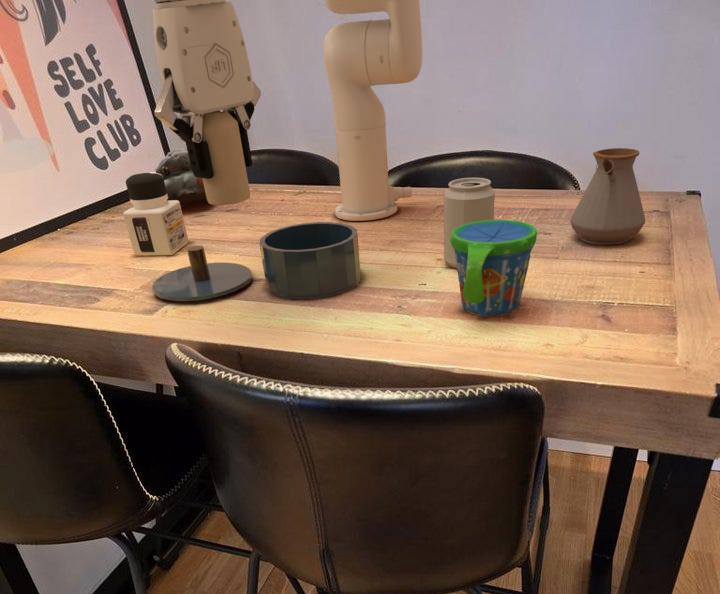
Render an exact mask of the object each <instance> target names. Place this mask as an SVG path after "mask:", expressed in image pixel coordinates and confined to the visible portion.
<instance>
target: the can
mask: <svg viewBox="0 0 720 594" xmlns="http://www.w3.org/2000/svg"><path fill="white" fill-rule="evenodd" d="M491 184H492V180H490V179H489V178H484V177H462V178H457V179H454V180H451V181H449V182H448V184H447V186H448V189H447V190H446V191H445V192H444V194H443V260H444V261H445V262H446V263H448V265H449V266H450V267H452V268H456V269H457V263H456V258H455V257H456V255H455V250H454V248H453V247H452V244H451V242H450V238H451V236H452V231H453V230H454V229H455V228H457V227H459V226H461V225H464V224H467V223H471V222H477V221H484V220H495V218H494V217H495V198H496V197H495V195H496V191H495V190H494V188H493V187H492V186H491Z"/></svg>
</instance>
